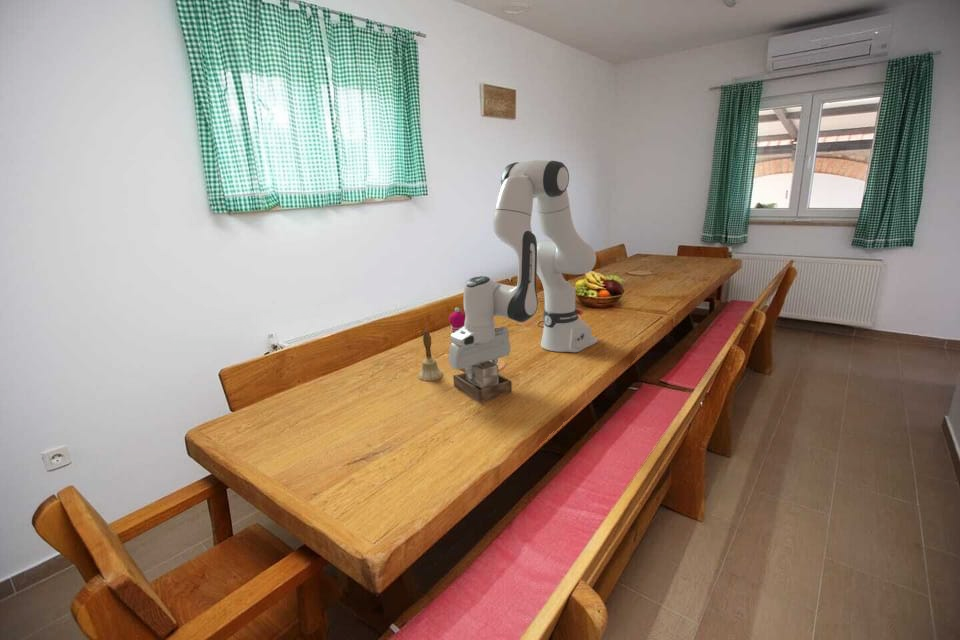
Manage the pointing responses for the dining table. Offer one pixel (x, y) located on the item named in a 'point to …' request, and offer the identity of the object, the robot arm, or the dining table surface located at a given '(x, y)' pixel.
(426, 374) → the hand bell
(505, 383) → the big crate
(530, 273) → the robot arm
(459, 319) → the pepper mill
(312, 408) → the dining table surface
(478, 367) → the small crate
